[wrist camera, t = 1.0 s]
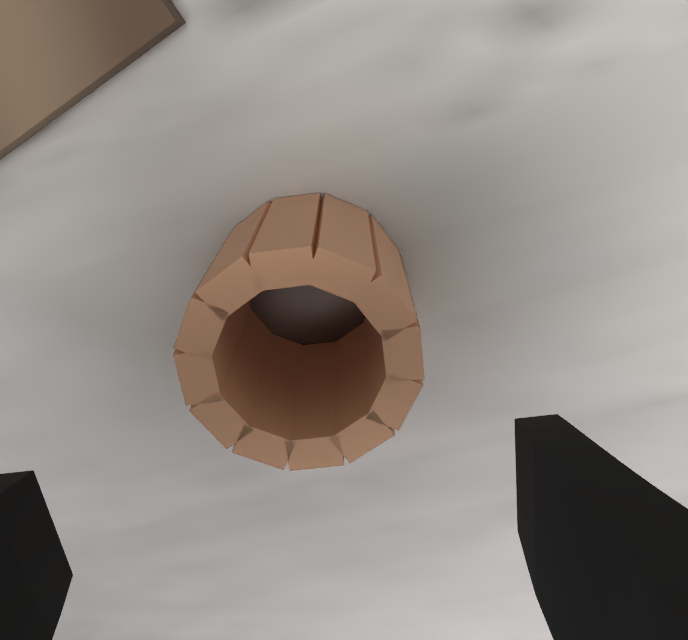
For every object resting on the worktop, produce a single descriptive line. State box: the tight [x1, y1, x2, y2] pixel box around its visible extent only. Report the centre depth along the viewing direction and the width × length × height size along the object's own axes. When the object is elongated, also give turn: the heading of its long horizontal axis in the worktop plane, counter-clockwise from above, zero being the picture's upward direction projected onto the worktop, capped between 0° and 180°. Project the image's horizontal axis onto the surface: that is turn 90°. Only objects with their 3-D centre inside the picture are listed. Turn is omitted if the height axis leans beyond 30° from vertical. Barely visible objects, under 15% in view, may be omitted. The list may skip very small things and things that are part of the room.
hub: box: [173, 193, 424, 471], centre depth 16 cm, size 5×5×5 cm
